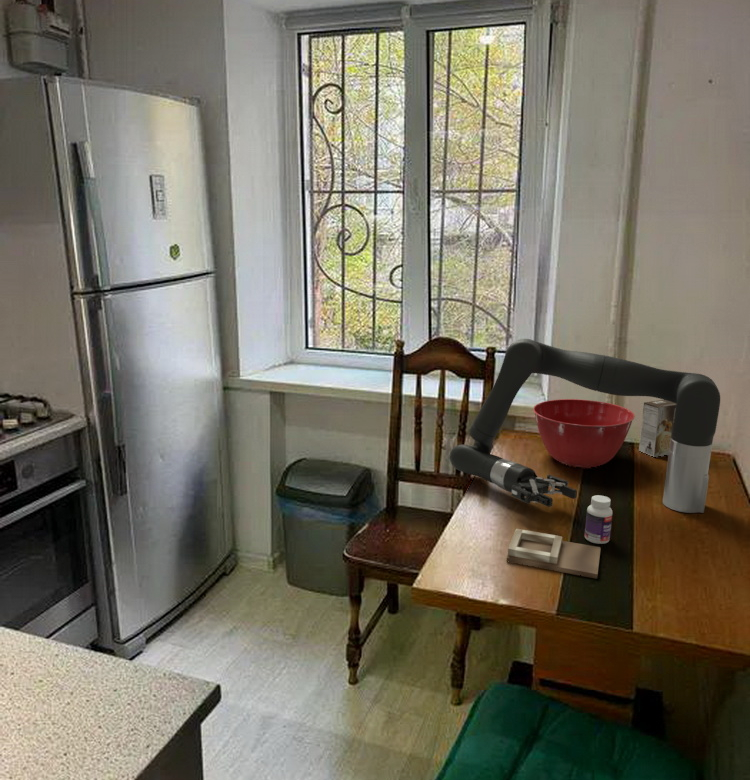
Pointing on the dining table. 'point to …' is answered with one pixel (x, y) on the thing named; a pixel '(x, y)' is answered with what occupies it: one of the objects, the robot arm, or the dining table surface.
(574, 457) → the mixing bowl
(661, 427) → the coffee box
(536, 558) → the socket board
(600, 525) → the pill bottle
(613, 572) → the dining table surface
